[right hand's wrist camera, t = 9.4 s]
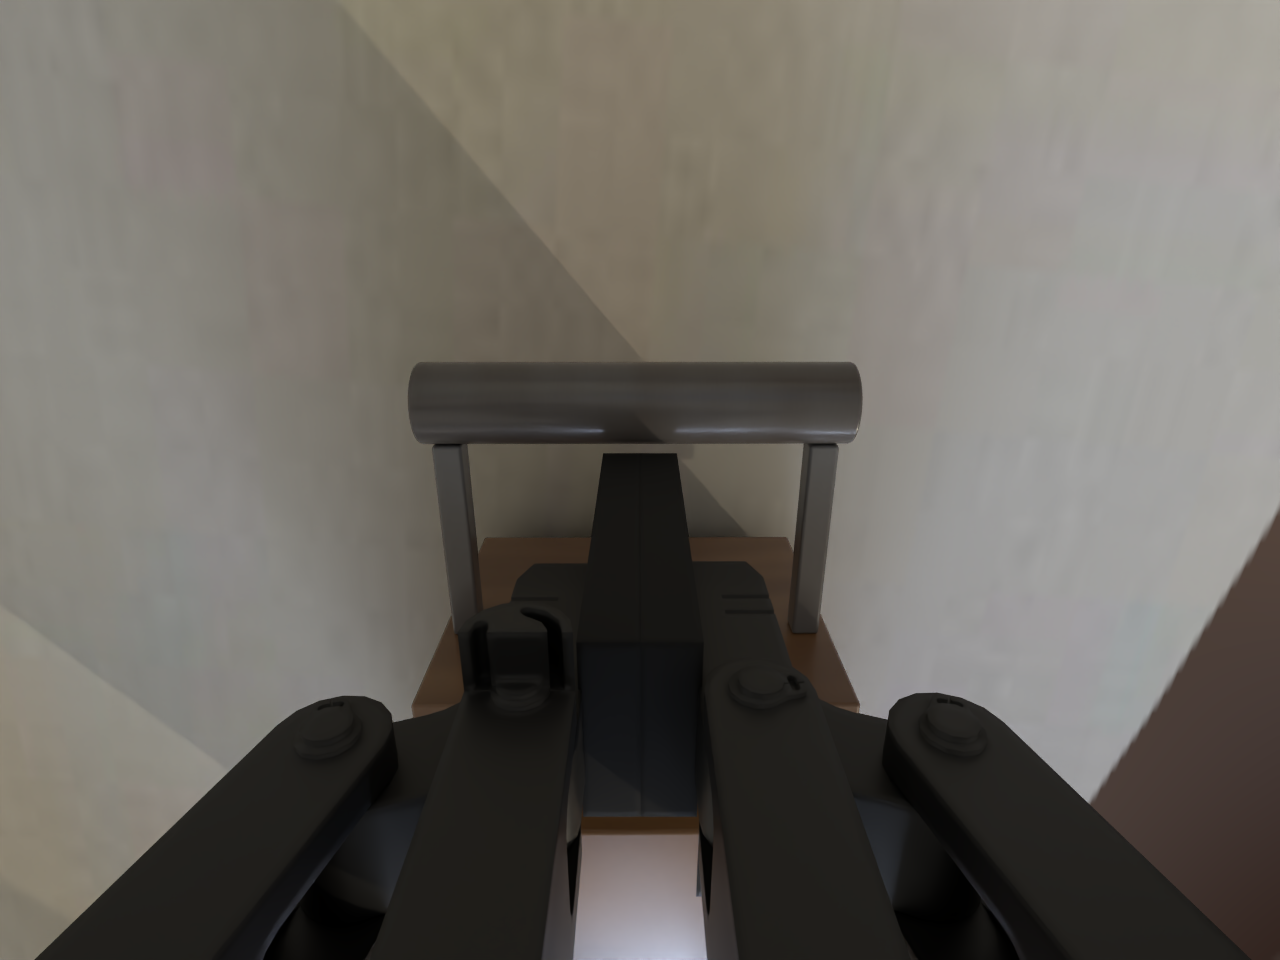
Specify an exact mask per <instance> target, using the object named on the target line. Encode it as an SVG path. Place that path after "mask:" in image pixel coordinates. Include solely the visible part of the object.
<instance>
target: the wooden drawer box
mask: <svg viewBox="0 0 1280 960" xmlns="http://www.w3.org/2000/svg"><path fill="white" fill-rule="evenodd" d="M581 838H582V861H581V873H580V884H579V896H578V908H577V920H576V931H575V943H574V955H573V960H707V954H706V942H705V930H704V919H703V907H702V897H696V885H697V862H698V838H699V813H698V803H697V817H583V806H582V817H581Z"/></svg>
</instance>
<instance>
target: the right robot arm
mask: <svg viewBox="0 0 1280 960" xmlns="http://www.w3.org/2000/svg"><path fill="white" fill-rule="evenodd" d="M457 634H458V642H459V651H460V660H461V669H462V677H463V686H464V693H463V696H462V699H461V701H460V702H459V703H457V704H455V705H453V706H451V707H449V708H447V709H444V710H441V711H438V712H435V713H432V714H428V715H424V716H420V717H416V718H411V719H407V720H402V721H398V722H392V716H391V713H390V712H389V711H388V709H387V708H386V707H385V706H384V705H383V704H382V703H381V702H379V701H376V700H373V699H371V698H368V697H365V696H340V697H335V698H331V699H326V700H321V701H318V702H316V703H314V704H311V705H309V706H307V707H304V708H302V709H300V710H298V711H296V712H295V713H293V714H292V715H290V716H289V717H288V718H286V719H285V720H284V721H282V722H281V723H280V724H278V725H277V726H276V727H275V728H274V729H273V730H272V731H271V732H270V733H269V734H268V735H267V736H266V737H265V738H264V739H263V740H262V741H260V742H259V743H258V744H257V745H256V746H255V747H254V748H253V749H252V750H251V751H250V752H249V753H248V754H247V755H246V756H245V757H244V758H243V759H242V760H241V761H240V762H239V763H238V764H237V765H236V766H235V767H234V768H233V769H232V770H230V771H229V772H228V773H227V774H226V775H225V776H224V777H223V778H222V779H221V780H220V781H219V782H218V783H217V784H216V785H215V786H214V787H213V788H212V789H211V790H210V791H209V792H208V793H207V794H206V795H205V796H204V797H203V798H201V799H200V800H199V801H198V802H197V803H196V804H195V805H194V806H193V807H192V808H191V809H190V810H189V811H188V812H187V813H186V814H185V815H184V816H183V817H182V818H181V819H180V820H179V821H178V822H177V823H176V824H175V825H174V826H172V827H171V828H170V829H169V830H168V831H167V832H166V833H165V834H164V835H163V836H162V837H161V838H160V839H159V840H158V841H157V842H156V843H155V844H154V845H153V846H152V847H151V848H150V849H149V850H148V851H147V852H146V853H145V854H143V855H142V856H141V857H140V858H139V859H138V860H137V861H136V862H135V863H134V864H133V865H132V866H131V867H130V868H129V869H128V870H127V871H126V872H125V873H124V874H123V875H122V876H121V877H120V878H119V879H118V880H117V881H116V882H115V883H113V884H112V885H111V886H110V887H109V888H108V889H107V890H106V891H105V892H104V893H103V894H102V895H101V896H100V897H99V898H98V899H97V900H96V901H95V902H94V903H93V904H92V905H91V906H90V907H89V908H88V909H87V910H86V911H84V912H83V913H82V914H81V915H80V916H79V917H78V918H77V919H76V920H75V921H74V922H73V923H72V924H71V925H70V926H69V927H68V928H67V929H66V930H65V931H64V932H63V933H62V934H61V935H60V936H59V937H58V938H57V939H55V940H54V941H53V942H52V943H51V944H50V945H49V946H48V947H47V948H46V949H45V950H44V951H43V952H42V953H41V954H40V955H39V956H38V957H37V958H36V959H35V960H573V955H574V943H575V931H576V920H577V908H578V896H579V884H580V873H581V861H582V838H581V817H582V806H583V817H697V803H698V813H699V838H698V862H697V885H696V897H702V907H703V919H704V930H705V942H706V954H707V960H1251V959H1250V958H1249V957H1248V956H1247V955H1246V954H1245V953H1244V952H1243V951H1242V950H1241V949H1240V948H1239V947H1238V946H1236V945H1235V944H1234V943H1233V942H1232V941H1231V940H1230V939H1229V938H1228V937H1227V936H1226V935H1225V934H1224V933H1223V932H1222V931H1221V930H1220V929H1219V928H1218V927H1217V926H1216V925H1215V924H1214V923H1212V922H1211V921H1210V920H1209V919H1208V918H1207V917H1206V916H1205V915H1204V914H1203V913H1202V912H1201V911H1200V910H1199V909H1198V908H1197V907H1196V906H1195V905H1194V904H1193V903H1192V902H1191V901H1190V900H1188V899H1187V898H1186V897H1185V896H1184V895H1183V894H1182V893H1181V892H1180V891H1179V890H1178V889H1177V888H1176V887H1175V886H1174V885H1173V884H1172V883H1171V882H1170V881H1169V880H1168V879H1167V878H1166V877H1165V876H1163V875H1162V874H1161V873H1160V872H1159V871H1158V870H1157V869H1156V868H1155V867H1154V866H1153V865H1152V864H1151V863H1150V862H1149V861H1148V860H1147V859H1146V858H1145V857H1144V856H1143V855H1142V854H1140V853H1139V852H1138V851H1137V850H1136V849H1135V848H1134V847H1133V846H1132V845H1131V844H1130V843H1129V842H1128V841H1127V840H1126V839H1125V838H1124V837H1123V836H1122V835H1121V834H1120V833H1119V832H1118V831H1116V830H1115V829H1114V828H1113V827H1112V826H1111V825H1110V824H1109V823H1108V822H1107V821H1106V820H1105V819H1104V818H1103V817H1102V816H1101V815H1100V814H1099V813H1098V812H1097V811H1096V810H1095V809H1094V808H1093V807H1091V806H1090V805H1089V804H1088V803H1087V802H1086V801H1085V800H1084V799H1083V798H1082V797H1081V796H1080V795H1079V794H1078V793H1077V792H1076V791H1075V790H1074V789H1073V788H1072V787H1071V786H1070V785H1069V784H1067V783H1066V782H1065V781H1064V780H1063V779H1062V778H1061V777H1060V776H1059V775H1058V774H1057V773H1056V772H1055V771H1054V770H1053V769H1052V768H1051V767H1050V766H1049V765H1048V764H1047V763H1046V762H1045V761H1044V760H1042V759H1041V758H1040V757H1039V756H1038V755H1037V754H1036V753H1035V752H1034V751H1033V750H1032V749H1031V748H1030V747H1029V746H1028V745H1027V744H1026V743H1025V742H1024V741H1023V740H1022V739H1021V738H1020V737H1018V736H1017V735H1016V734H1015V733H1014V732H1013V731H1012V730H1011V729H1010V728H1009V727H1008V726H1007V725H1006V724H1005V723H1004V722H1003V721H1001V720H1000V719H999V718H997V717H996V716H994V715H993V714H992V713H990V712H989V711H988V710H986V709H985V708H983V707H981V706H979V705H976V704H974V703H972V702H970V701H967V700H965V699H963V698H960V697H955V696H950V695H945V694H941V693H915V694H913V695H910V696H907V697H904V698H902V699H899V700H898V701H897V702H896V703H895V705H894V706H893V707H892V708H891V709H890V710H889V716H888V720H886V719H882V718H878V717H873V716H869V715H864V714H860V713H855V712H852V711H848V710H845V709H842V708H838V707H835V706H833V705H831V704H829V703H827V702H825V701H823V700H821V699H819V698H818V695H817V692H816V690H815V688H814V687H813V685H812V684H811V682H810V681H809V679H808V678H807V677H806V676H805V675H804V674H802V673H801V672H799V671H798V670H797V669H795V668H794V667H792V664H791V661H790V658H789V654H788V651H787V648H786V645H785V642H784V639H783V636H782V633H781V630H780V627H779V624H778V621H777V618H776V615H775V614H774V608H773V605H772V602H771V599H770V598H769V593H768V590H767V587H766V584H765V581H764V578H763V576H762V575H761V574H760V573H758V572H757V571H756V570H755V569H754V568H753V567H752V566H751V565H749V564H748V563H747V562H746V561H692V556H691V549H690V542H689V535H688V528H687V522H686V515H685V508H684V501H683V494H682V487H681V480H680V473H679V466H678V459H677V453H603V459H602V466H601V473H600V480H599V487H598V494H597V501H596V508H595V515H594V522H593V528H592V535H591V542H590V549H589V556H588V563H534V564H533V565H532V566H531V567H530V568H529V569H528V570H526V571H525V572H524V573H523V574H522V575H521V576H520V577H519V578H518V579H517V580H516V584H515V587H514V590H513V593H512V596H511V601H510V602H509V603H504V604H500V605H497V606H494V607H491V608H488V609H484V610H482V611H480V612H479V613H477V614H476V615H474V616H472V617H471V618H469V619H468V620H466V622H465V623H464V624H463V626H462V627H461V628H460V630H459V631H458V632H457Z"/></svg>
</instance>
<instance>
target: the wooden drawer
mask: <svg viewBox="0 0 1280 960" xmlns="http://www.w3.org/2000/svg"><path fill="white" fill-rule="evenodd" d="M408 410H409V418H410V423H411V427H412V430H413V433H414V436H415V438H416V439H417V441H418V442H420V443H422V444H435V445H434V446H433V448H432V452H433V460H434V469H435V477H436V485H437V494H438V502H439V511H440V519H441V528H442V536H443V545H444V553H445V561H446V570H447V578H448V587H449V595H450V604H451V612H452V615H451V617H450V619H449V622H448V624H447V626H446V628H445V631H444V633H443V635H442V637H441V640H440V642H439V644H438V647H437V649H436V651H435V653H434V656H433V658H432V660H431V662H430V665H429V667H428V669H427V672H426V674H425V676H424V678H423V681H422V683H421V685H420V688H419V690H418V692H417V694H416V697H415V699H414V701H413V703H412V712H413V718H416V717H420V716H424V715H428V714H432V713H435V712H438V711H441V710H444V709H447V708H449V707H451V706H453V705H455V704H457V703H459V702H460V701H461V699H462V696H463V693H464V686H463V677H462V669H461V660H460V651H459V642H458V634H457V632H458V631H459V630H460V628H461V627H462V626H463V624H464V623H465V622H466V620H468V619H469V618H471V617H472V616H474V615H476V614H477V613H479V612H480V611H482V610H484V609H488V608H491V607H494V606H497V605H500V604H504V603H509V602H510V601H511V596H512V593H513V590H514V587H515V584H516V580H517V579H518V578H519V577H520V576H521V575H522V574H523V573H524V572H525V571H526V570H528V569H529V568H530V567H531V566H532V565H533V564H534V563H588V556H589V549H590V542H591V537H574V538H485V540H484V542H483V544H482V546H481V549H480V551H479V553H478V549H477V538H476V528H475V518H474V508H473V498H472V488H471V477H470V467H469V457H468V447H467V444H778V443H804V447H803V458H802V469H801V480H800V490H799V501H798V512H797V522H796V533H795V544H794V552H793V550H792V548H791V546H790V543H789V541H788V539H787V538H786V537H689V542H690V549H691V556H692V561H746V562H747V563H748V564H749V565H751V566H752V567H753V568H754V569H755V570H756V571H757V572H758V573H760V574H761V575H762V576H763V578H764V581H765V584H766V587H767V590H768V593H769V598H770V599H771V602H772V605H773V608H774V614H775V615H776V618H777V621H778V624H779V627H780V630H781V633H782V636H783V639H784V642H785V645H786V648H787V651H788V654H789V658H790V661H791V664H792V667H794V668H795V669H797V670H798V671H799V672H801V673H802V674H804V675H805V676H806V677H807V678H808V679H809V681H810V682H811V684H812V685H813V687H814V688H815V690H816V692H817V695H818V698H819V699H821V700H823V701H825V702H827V703H829V704H831V705H833V706H835V707H838V708H842V709H845V710H848V711H852V712H855V713H859V708H860V703H859V701H858V699H857V696H856V694H855V692H854V690H853V687H852V685H851V683H850V680H849V678H848V676H847V674H846V671H845V669H844V667H843V664H842V662H841V660H840V658H839V655H838V653H837V651H836V648H835V646H834V644H833V642H832V639H831V637H830V635H829V632H828V630H827V628H826V626H825V623H824V621H823V619H822V616H821V614H820V608H821V600H822V591H823V582H824V573H825V564H826V556H827V547H828V538H829V529H830V520H831V512H832V503H833V494H834V485H835V476H836V468H837V459H838V450H839V448H838V445H837V444H836V443H850V442H852V441H853V440H854V438H855V436H856V434H857V432H858V429H859V425H860V420H861V414H862V384H861V378H860V374H859V371H858V369H857V367H856V365H855V364H854V363H851V362H420V363H418V364H416V365H415V366H414V368H413V370H412V373H411V376H410V381H409V388H408Z"/></svg>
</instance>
